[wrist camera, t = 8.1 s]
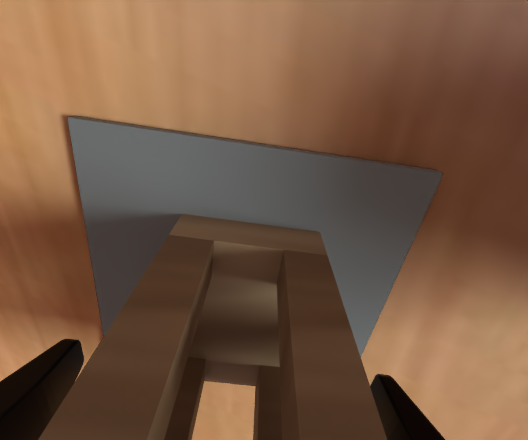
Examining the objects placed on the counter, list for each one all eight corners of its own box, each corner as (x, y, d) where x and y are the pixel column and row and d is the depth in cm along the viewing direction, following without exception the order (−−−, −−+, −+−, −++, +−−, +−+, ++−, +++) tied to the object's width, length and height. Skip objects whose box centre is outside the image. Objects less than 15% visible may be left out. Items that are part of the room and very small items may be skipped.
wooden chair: (182, 213, 10) (8, 486, 3) (319, 232, 10) (413, 523, 4) (180, 346, 13) (89, 625, 6) (285, 358, 13) (302, 638, 7)
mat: (341, 386, 15) (343, 394, 15) (112, 361, 14) (109, 369, 14) (436, 169, 10) (443, 173, 9) (75, 115, 9) (67, 117, 9)
